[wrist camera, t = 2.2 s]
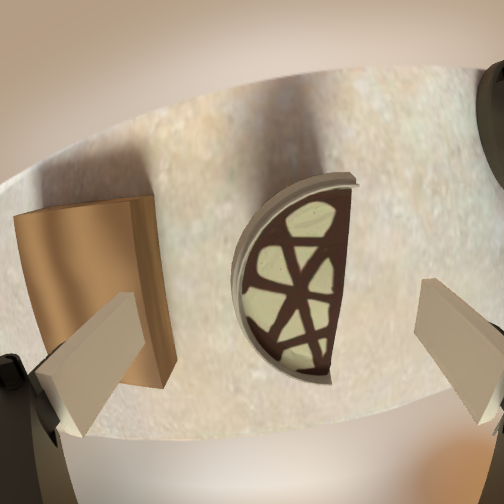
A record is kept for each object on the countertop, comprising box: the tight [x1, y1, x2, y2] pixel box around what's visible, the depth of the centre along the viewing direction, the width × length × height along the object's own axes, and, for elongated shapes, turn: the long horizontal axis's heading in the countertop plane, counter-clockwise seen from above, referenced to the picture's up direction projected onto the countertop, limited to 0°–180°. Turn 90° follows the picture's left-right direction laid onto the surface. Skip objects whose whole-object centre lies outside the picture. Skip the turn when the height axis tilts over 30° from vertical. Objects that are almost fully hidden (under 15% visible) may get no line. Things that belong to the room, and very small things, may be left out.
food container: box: [231, 172, 359, 386], centre depth 20 cm, size 12×6×10 cm, turn 179°
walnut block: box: [13, 195, 177, 389], centre depth 25 cm, size 13×16×5 cm
